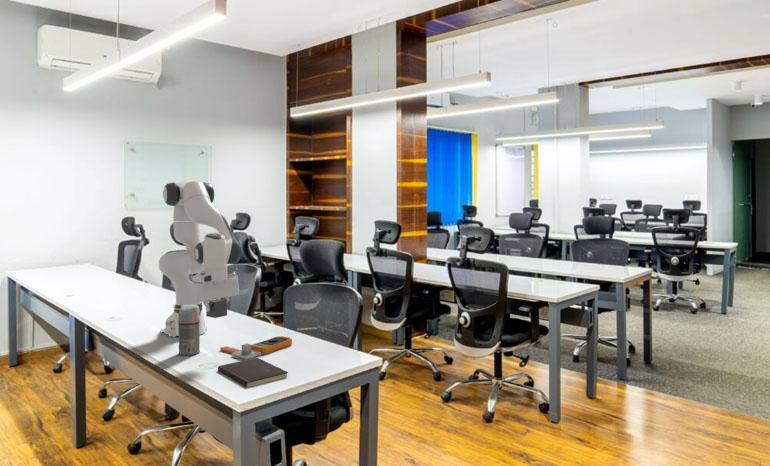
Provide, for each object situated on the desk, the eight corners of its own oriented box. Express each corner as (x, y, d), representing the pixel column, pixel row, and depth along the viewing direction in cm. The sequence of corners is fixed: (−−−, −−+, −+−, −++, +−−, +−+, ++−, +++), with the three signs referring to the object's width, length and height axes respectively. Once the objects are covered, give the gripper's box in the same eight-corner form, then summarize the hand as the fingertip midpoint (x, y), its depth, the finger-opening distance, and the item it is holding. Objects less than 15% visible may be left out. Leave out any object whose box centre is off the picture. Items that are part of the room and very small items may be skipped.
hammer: (214, 352, 215) (214, 341, 215) (230, 347, 222) (230, 337, 221) (244, 360, 204) (244, 348, 204) (260, 355, 210) (260, 344, 210)
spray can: (205, 352, 215) (203, 304, 214) (188, 357, 208) (187, 307, 207) (191, 349, 219) (190, 302, 218) (174, 354, 212) (173, 305, 211)
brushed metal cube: (206, 316, 205) (206, 301, 205) (218, 313, 209) (218, 298, 209) (215, 318, 202) (214, 302, 201) (227, 315, 206) (226, 300, 206)
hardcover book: (257, 363, 202) (257, 357, 202) (288, 378, 185) (288, 372, 184) (217, 372, 191) (217, 366, 191) (246, 389, 174) (246, 382, 174)
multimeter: (294, 345, 226) (294, 337, 226) (264, 355, 211) (264, 347, 211) (279, 342, 231) (279, 334, 231) (249, 352, 216) (249, 344, 215)
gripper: (232, 271, 215) (233, 304, 216) (188, 277, 198) (189, 313, 199) (242, 272, 211) (243, 306, 212) (197, 278, 195) (198, 315, 195)
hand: (216, 310), depth 205 cm, fingers closed on brushed metal cube, 6 cm apart
